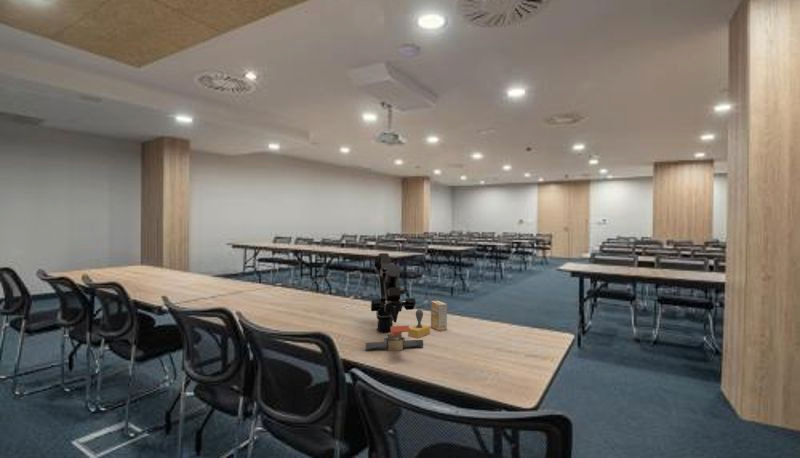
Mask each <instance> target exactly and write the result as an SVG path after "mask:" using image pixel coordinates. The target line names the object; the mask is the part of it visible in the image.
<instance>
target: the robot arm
mask: <svg viewBox="0 0 800 458" xmlns="http://www.w3.org/2000/svg"><path fill="white" fill-rule="evenodd" d="M372 263H373V268H374V272H375V274H377V275H378V284H379V285H378V286H379V294H380V297H379V298H373V299H371V303H370V311H371V312H376V314H375V315H376V319H377V327H376V331H379V332H381V333H389V332H390V333H392V332H391V326H394V325H393V323H395V324H396V323H397V321H398V316H399V315H398V314H399V313H401V312H402V309H403V307H404V309H405V310H406V311H408V310H409V311H412V310H415V306H416V304H417V302H416V301H417V300H416V298H415V297H405V300H401V295H405V293H406V291H405V290H406V289H405V286H402V285H401V286H399V287H398V281H399V277H400V275H401V270H400V268H398V266H396V265H395V264H394V263H393V264H392V263H391V257H390V255H389V253H386V252H384V253H383V252H382V253H381V252H380V253H378V255H376V256H375V257H374V258H373V261H372Z"/></svg>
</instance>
